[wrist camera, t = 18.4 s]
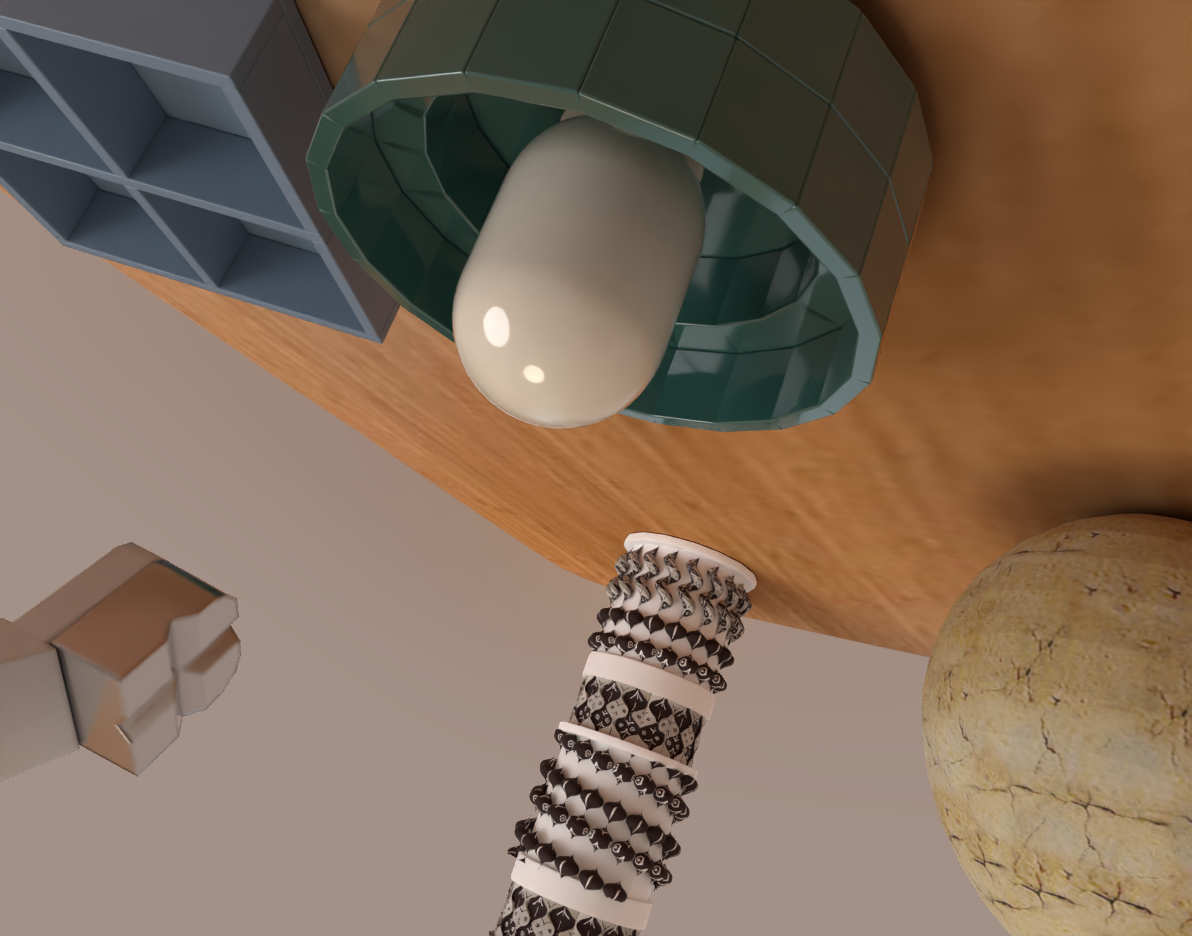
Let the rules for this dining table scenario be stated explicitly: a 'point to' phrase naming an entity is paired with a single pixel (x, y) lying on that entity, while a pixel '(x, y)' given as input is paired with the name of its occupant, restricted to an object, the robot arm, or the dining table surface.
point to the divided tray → (180, 148)
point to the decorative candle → (628, 744)
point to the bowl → (672, 119)
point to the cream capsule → (579, 273)
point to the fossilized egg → (1071, 729)
